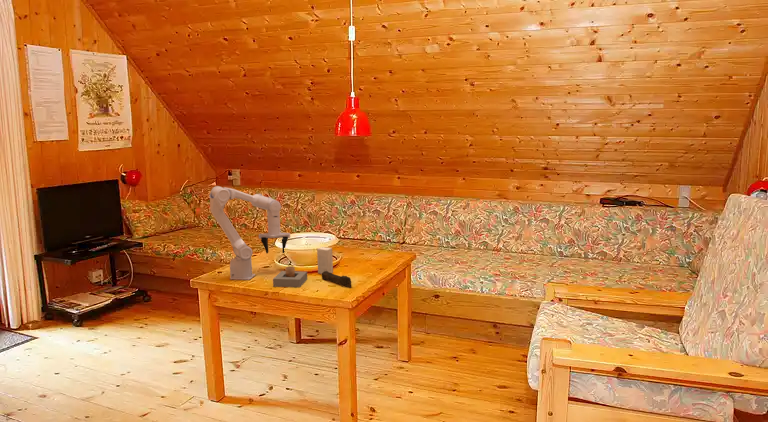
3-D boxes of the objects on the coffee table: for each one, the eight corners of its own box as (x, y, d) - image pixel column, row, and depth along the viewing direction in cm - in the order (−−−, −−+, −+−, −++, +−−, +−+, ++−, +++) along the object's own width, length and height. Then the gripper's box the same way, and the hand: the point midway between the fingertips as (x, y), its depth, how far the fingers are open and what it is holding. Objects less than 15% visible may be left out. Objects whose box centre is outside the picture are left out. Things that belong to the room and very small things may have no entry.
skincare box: (333, 272, 261) (332, 248, 259) (328, 275, 257) (327, 250, 255) (323, 271, 264) (322, 246, 262) (317, 273, 260) (316, 248, 258)
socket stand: (273, 286, 242) (272, 278, 241) (282, 278, 253) (281, 271, 253) (299, 287, 240) (299, 279, 239) (307, 279, 252) (307, 271, 251)
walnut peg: (284, 281, 245) (284, 268, 244) (287, 279, 249) (286, 266, 248) (293, 282, 244) (293, 268, 243) (296, 279, 248) (295, 266, 247)
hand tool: (321, 280, 250) (320, 270, 250) (328, 278, 253) (328, 268, 252) (345, 290, 236) (345, 279, 235) (353, 288, 239) (353, 277, 238)
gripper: (256, 226, 255) (258, 255, 258) (288, 226, 256) (289, 254, 258) (259, 223, 262) (261, 251, 265) (290, 223, 263) (291, 250, 265)
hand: (275, 252), depth 262 cm, fingers open, 7 cm apart
